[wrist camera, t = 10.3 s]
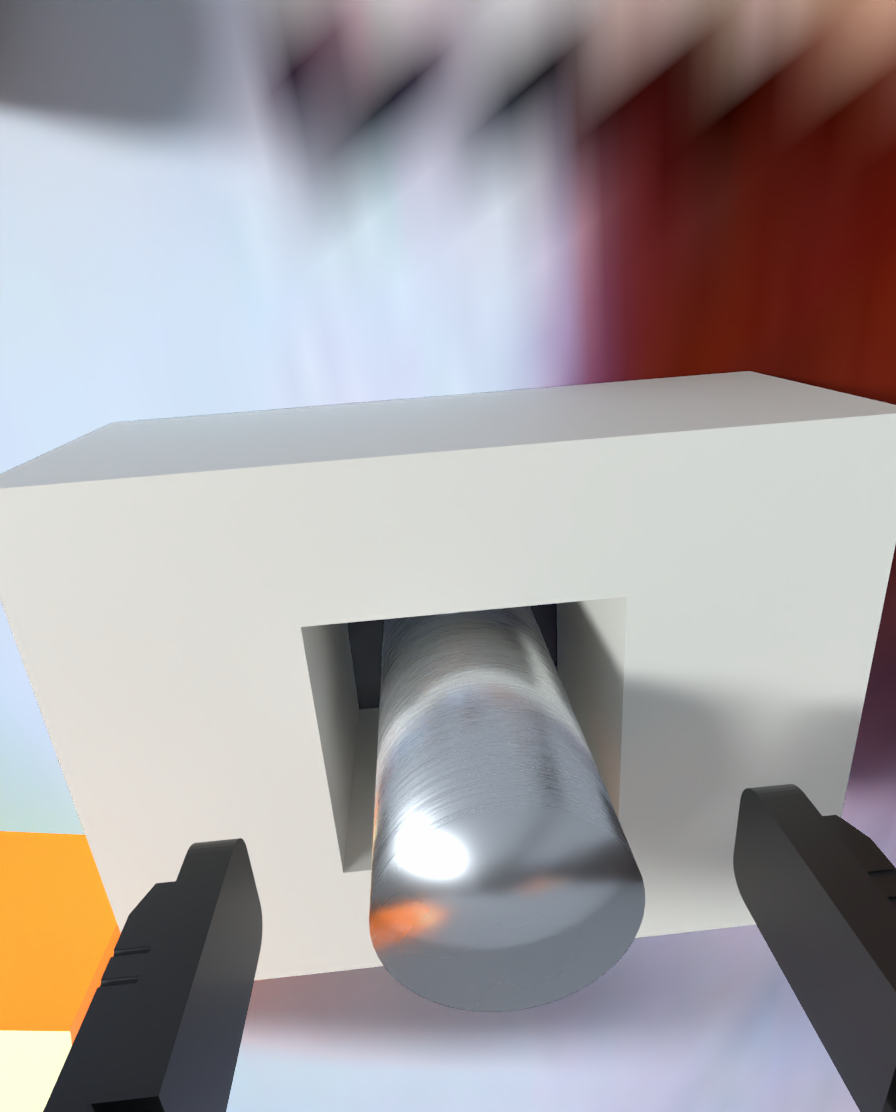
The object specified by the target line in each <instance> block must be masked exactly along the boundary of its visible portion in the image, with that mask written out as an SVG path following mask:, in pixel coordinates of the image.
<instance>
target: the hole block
mask: <svg viewBox="0 0 896 1112" xmlns="http://www.w3.org/2000/svg"><path fill="white" fill-rule="evenodd" d="M895 545H896V405H893V404H889V403H885V402H881V401H876V400H872V399H868V398H863V397H859V396H855V395H850V394H846V393H842V392H838V391H833V390H829V389H825V388H820V387H816V386H812V385H807V384H803V383H799V382H795V381H790V380H786V379H782V378H777V377H773V376H769V375H765V374H760V373H756V372H752V371H744V372H732V373H719V374H707V375H695V376H682V377H670V378H658V379H645V380H633V381H621V382H608V383H596V384H583V385H571V386H559V387H546V388H534V389H522V390H509V391H497V392H485V393H472V394H460V395H447V396H435V397H423V398H410V399H398V400H386V401H373V402H361V403H349V404H336V405H324V406H311V407H299V408H287V409H274V410H262V411H250V412H237V413H225V414H213V415H200V416H188V417H175V418H163V419H151V420H138V421H126V422H114V423H110V424H108V425H105V426H103V427H101V428H99V429H97V430H95V431H92V432H90V433H88V434H86V435H84V436H82V437H79V438H77V439H75V440H73V441H71V442H69V443H66V444H64V445H62V446H60V447H58V448H56V449H53V450H51V451H49V452H47V453H45V454H42V455H40V456H38V457H36V458H34V459H32V460H29V461H27V462H25V463H23V464H21V465H19V466H16V467H14V468H12V469H10V470H8V471H6V472H3V473H1V474H0V600H1V603H2V605H3V608H4V611H5V614H6V617H7V619H8V622H9V625H10V628H11V630H12V633H13V636H14V639H15V642H16V644H17V647H18V650H19V653H20V655H21V658H22V661H23V664H24V666H25V669H26V672H27V675H28V678H29V680H30V683H31V686H32V689H33V691H34V694H35V697H36V700H37V702H38V705H39V708H40V711H41V714H42V716H43V719H44V722H45V725H46V727H47V730H48V733H49V736H50V739H51V741H52V744H53V747H54V750H55V752H56V755H57V758H58V761H59V763H60V766H61V769H62V772H63V775H64V777H65V780H66V783H67V786H68V788H69V791H70V794H71V797H72V799H73V802H74V805H75V808H76V811H77V813H78V816H79V819H80V822H81V824H82V827H83V830H84V833H85V836H86V838H87V841H88V844H89V847H90V849H91V852H92V855H93V858H94V860H95V863H96V866H97V869H98V872H99V874H100V877H101V880H102V883H103V885H104V888H105V891H106V894H107V896H108V899H109V902H110V905H111V908H112V910H113V913H114V916H115V919H116V921H117V924H118V927H119V930H120V933H121V932H122V930H123V927H124V925H125V923H126V921H127V918H128V916H129V914H130V913H131V912H132V911H133V909H134V908H135V907H136V906H137V905H138V904H139V902H140V901H141V900H142V899H143V898H144V897H145V895H146V894H147V893H148V892H149V891H150V890H151V888H152V887H153V886H154V885H155V884H156V883H164V882H173V881H176V880H177V877H178V874H179V872H180V869H181V866H182V864H183V861H184V859H185V856H186V853H187V851H188V849H189V847H190V846H191V845H192V844H193V843H199V842H208V841H218V840H228V839H238V838H242V839H243V840H244V842H245V844H246V847H247V851H248V855H249V859H250V863H251V867H252V871H253V875H254V879H255V884H256V888H257V892H258V896H259V900H260V904H261V910H262V943H261V949H260V955H259V959H258V964H257V969H256V973H255V978H254V981H255V980H264V979H273V978H282V977H291V976H300V975H309V974H318V973H327V972H336V971H345V970H353V969H362V968H371V967H380V966H384V965H383V964H382V962H381V961H380V959H379V958H378V956H377V954H376V951H375V949H374V947H373V944H372V940H371V936H370V929H369V908H370V888H371V868H372V847H373V827H374V807H375V787H376V766H377V746H378V726H379V708H369V709H359V704H358V697H357V690H356V683H355V676H354V669H353V662H352V655H351V648H350V641H349V634H348V627H347V623H350V622H360V621H371V620H382V619H393V618H404V617H414V616H425V615H436V614H447V613H457V612H468V611H479V610H490V609H501V608H511V607H522V606H533V605H544V604H554V603H557V672H558V675H559V677H560V680H561V682H562V684H563V687H564V689H565V692H566V694H567V696H568V699H569V701H570V704H571V706H572V709H573V711H574V713H575V716H576V718H577V721H578V723H579V725H580V728H581V730H582V733H583V735H584V738H585V740H586V742H587V745H588V747H589V750H590V752H591V754H592V757H593V759H594V762H595V764H596V767H597V769H598V771H599V774H600V776H601V779H602V781H603V783H604V786H605V788H606V791H607V793H608V795H609V798H610V800H611V803H612V805H613V808H614V810H615V812H616V815H617V817H618V820H619V822H620V824H621V827H622V829H623V832H624V834H625V837H626V839H627V841H628V844H629V846H630V849H631V851H632V853H633V856H634V858H635V861H636V863H637V866H638V868H639V870H640V873H641V875H642V878H643V883H644V888H645V909H644V916H643V919H642V922H641V925H640V928H639V931H638V933H637V935H636V937H635V938H640V937H649V936H658V935H667V934H676V933H685V932H694V931H703V930H712V929H720V928H729V927H738V926H747V925H756V923H755V921H754V919H753V917H752V916H751V914H750V912H749V910H748V908H747V907H746V905H745V903H744V901H743V899H742V897H741V895H740V892H739V889H738V886H737V883H736V879H735V874H734V868H733V854H734V846H735V838H736V830H737V822H738V814H739V806H740V799H741V794H742V792H743V791H744V790H745V789H747V788H756V787H765V786H775V785H785V784H794V785H796V786H798V787H799V788H800V789H801V790H802V791H803V792H804V793H805V795H806V796H807V797H808V799H809V800H810V801H811V802H812V804H813V805H814V806H815V807H816V809H817V810H818V811H819V812H820V814H821V815H822V816H829V815H837V816H839V817H840V818H841V815H842V810H843V805H844V800H845V795H846V790H847V785H848V780H849V775H850V770H851V765H852V760H853V755H854V750H855V745H856V740H857V735H858V730H859V725H860V720H861V715H862V710H863V705H864V700H865V695H866V690H867V685H868V680H869V675H870V670H871V665H872V660H873V655H874V650H875V645H876V640H877V635H878V630H879V625H880V620H881V615H882V610H883V605H884V600H885V595H886V590H887V585H888V580H889V575H890V570H891V565H892V560H893V555H894V550H895Z"/></svg>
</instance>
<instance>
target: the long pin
mask: <svg viewBox="0 0 896 1112" xmlns="http://www.w3.org/2000/svg"><path fill="white" fill-rule="evenodd" d="M644 909H645V888H644V883H643V878H642V875H641V873H640V870H639V868H638V866H637V863H636V861H635V858H634V856H633V853H632V851H631V849H630V846H629V844H628V841H627V839H626V837H625V834H624V832H623V829H622V827H621V824H620V822H619V820H618V817H617V815H616V812H615V810H614V808H613V805H612V803H611V800H610V798H609V795H608V793H607V791H606V788H605V786H604V783H603V781H602V779H601V776H600V774H599V771H598V769H597V767H596V764H595V762H594V759H593V757H592V754H591V752H590V750H589V747H588V745H587V742H586V740H585V738H584V735H583V733H582V730H581V728H580V725H579V723H578V721H577V718H576V716H575V713H574V711H573V709H572V706H571V704H570V701H569V699H568V696H567V694H566V692H565V689H564V687H563V684H562V682H561V680H560V677H559V675H558V672H557V670H556V667H555V665H554V663H553V660H552V658H551V655H550V653H549V651H548V648H547V646H546V643H545V641H544V639H543V636H542V634H541V631H540V629H539V626H538V624H537V622H536V619H535V617H534V614H533V612H532V610H531V607H530V606H522V607H511V608H501V609H490V610H479V611H468V612H457V613H447V614H436V615H425V616H414V617H404V618H393V619H384V624H383V645H382V665H381V685H380V705H379V726H378V746H377V766H376V787H375V807H374V827H373V847H372V868H371V888H370V908H369V929H370V936H371V940H372V944H373V947H374V949H375V951H376V954H377V956H378V958H379V959H380V961H381V962H382V964H383V965H384V967H385V968H386V970H387V971H388V972H389V973H390V974H391V975H392V976H393V977H394V978H395V979H396V980H397V981H398V982H400V983H401V984H402V985H403V986H405V987H406V988H407V989H409V990H411V991H412V992H414V993H416V994H417V995H419V996H421V997H424V998H426V999H428V1000H430V1001H433V1002H435V1003H439V1004H442V1005H445V1006H448V1007H453V1008H458V1009H462V1010H470V1011H480V1012H501V1011H514V1010H520V1009H526V1008H532V1007H536V1006H540V1005H544V1004H547V1003H550V1002H553V1001H556V1000H559V999H562V998H564V997H566V996H568V995H570V994H573V993H575V992H577V991H579V990H581V989H582V988H584V987H586V986H588V985H589V984H591V983H592V982H594V981H595V980H597V979H598V978H599V977H601V976H602V975H604V974H605V973H606V972H607V971H608V970H609V969H610V968H612V967H613V966H614V965H615V964H616V963H617V962H618V961H619V959H620V958H621V957H622V956H623V955H624V954H625V952H626V951H627V950H628V948H629V947H630V945H631V944H632V942H633V941H634V939H635V937H636V935H637V933H638V931H639V928H640V925H641V922H642V919H643V916H644Z"/></svg>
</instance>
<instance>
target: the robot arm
mask: <svg viewBox="0 0 896 1112" xmlns="http://www.w3.org/2000/svg"><path fill="white" fill-rule="evenodd" d="M733 868H734V874H735V879H736V883H737V886H738V889H739V892H740V895H741V897H742V899H743V901H744V903H745V905H746V907H747V908H748V910H749V912H750V914H751V916H752V917H753V919H754V921H755V923H756V925H757V926H758V928H759V930H760V932H761V934H762V935H763V937H764V939H765V941H766V943H767V944H768V946H769V948H770V950H771V952H772V953H773V955H774V957H775V959H776V961H777V962H778V964H779V966H780V968H781V970H782V971H783V973H784V975H785V977H786V979H787V980H788V982H789V984H790V986H791V988H792V989H793V991H794V993H795V995H796V997H797V998H798V1000H799V1002H800V1004H801V1006H802V1007H803V1009H804V1011H805V1013H806V1015H807V1016H808V1018H809V1020H810V1022H811V1024H812V1025H813V1027H814V1029H815V1031H816V1033H817V1034H818V1036H819V1038H820V1040H821V1042H822V1043H823V1045H824V1047H825V1049H826V1051H827V1052H828V1054H829V1056H830V1058H831V1060H832V1061H833V1063H834V1065H835V1067H836V1069H837V1070H838V1072H839V1074H840V1076H841V1078H842V1079H843V1081H844V1083H845V1085H846V1087H847V1088H848V1090H849V1092H850V1094H851V1096H852V1097H853V1099H854V1101H855V1103H856V1105H857V1106H858V1108H859V1110H860V1112H896V868H895V867H894V866H893V864H892V863H891V862H890V861H889V860H888V859H887V857H886V856H885V855H884V854H883V853H882V851H881V850H880V849H879V848H878V847H877V846H876V844H875V843H874V842H873V841H872V840H871V839H870V838H869V837H867V836H866V835H865V834H863V833H862V832H860V831H859V830H857V829H856V828H855V827H853V826H852V825H850V824H849V823H847V822H846V821H845V820H843V819H842V818H840V817H839V816H837V815H829V816H822V815H821V814H820V812H819V811H818V810H817V809H816V807H815V806H814V805H813V804H812V802H811V801H810V800H809V799H808V797H807V796H806V795H805V793H804V792H803V791H802V790H801V789H800V788H799V787H798V786H796V785H794V784H785V785H775V786H765V787H756V788H747V789H745V790H744V791H743V792H742V794H741V799H740V806H739V814H738V822H737V830H736V838H735V846H734V854H733ZM261 943H262V910H261V904H260V900H259V896H258V892H257V888H256V884H255V879H254V875H253V871H252V867H251V863H250V859H249V855H248V851H247V847H246V844H245V842H244V840H243V839H242V838H238V839H228V840H218V841H208V842H199V843H193V844H192V845H191V846H190V847H189V849H188V851H187V853H186V856H185V859H184V861H183V864H182V866H181V869H180V872H179V874H178V877H177V880H176V881H173V882H164V883H156V884H155V885H154V886H153V887H152V888H151V890H150V891H149V892H148V893H147V894H146V895H145V897H144V898H143V899H142V900H141V901H140V902H139V904H138V905H137V906H136V907H135V908H134V909H133V911H132V912H131V913H130V914H129V916H128V918H127V921H126V923H125V925H124V927H123V930H122V932H121V934H120V937H119V939H118V941H117V943H116V946H115V948H114V955H113V957H110V960H109V962H108V964H107V966H106V969H105V971H104V973H103V976H102V978H101V985H100V987H97V989H96V992H95V994H94V996H93V999H92V1001H91V1003H90V1005H89V1008H88V1010H87V1012H86V1015H85V1017H84V1019H83V1021H82V1024H81V1026H80V1028H79V1031H78V1033H77V1035H76V1038H75V1040H74V1042H73V1044H72V1047H71V1049H70V1051H69V1054H68V1056H67V1058H66V1060H65V1063H64V1065H63V1067H62V1070H61V1072H60V1074H59V1077H58V1079H57V1081H56V1083H55V1086H54V1088H53V1090H52V1093H51V1095H50V1097H49V1099H48V1102H47V1104H46V1106H45V1108H44V1110H43V1112H226V1109H227V1104H228V1099H229V1095H230V1090H231V1085H232V1081H233V1076H234V1071H235V1067H236V1062H237V1057H238V1053H239V1048H240V1043H241V1039H242V1034H243V1029H244V1025H245V1020H246V1015H247V1011H248V1006H249V1001H250V997H251V992H252V987H253V983H254V978H255V973H256V969H257V964H258V959H259V955H260V949H261Z"/></svg>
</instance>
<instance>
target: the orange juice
mask: <svg viewBox="0 0 896 1112" xmlns="http://www.w3.org/2000/svg"><path fill="white" fill-rule="evenodd" d="M120 934H121V933H120V930H119V927H118V924H117V921H116V919H115V916H114V913H113V910H112V908H111V905H110V902H109V899H108V896H107V894H106V891H105V888H104V885H103V883H102V880H101V877H100V874H99V872H98V869H97V866H96V863H95V860H94V858H93V855H92V852H91V849H90V847H89V844H88V841H87V838H86V836H85V835H72V834H49V833H27V832H4V831H0V1112H43V1110H44V1108H45V1106H46V1104H47V1102H48V1099H49V1097H50V1095H51V1093H52V1090H53V1088H54V1086H55V1083H56V1081H57V1079H58V1077H59V1074H60V1072H61V1070H62V1067H63V1065H64V1063H65V1060H66V1058H67V1056H68V1054H69V1051H70V1049H71V1047H72V1044H73V1042H74V1040H75V1038H76V1035H77V1033H78V1031H79V1028H80V1026H81V1024H82V1021H83V1019H84V1017H85V1015H86V1012H87V1010H88V1008H89V1005H90V1003H91V1001H92V999H93V996H94V994H95V992H96V989H97V987H100V985H101V978H102V976H103V973H104V971H105V969H106V966H107V964H108V962H109V960H110V957H113V955H114V948H115V946H116V943H117V941H118V939H119V937H120Z"/></svg>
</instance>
